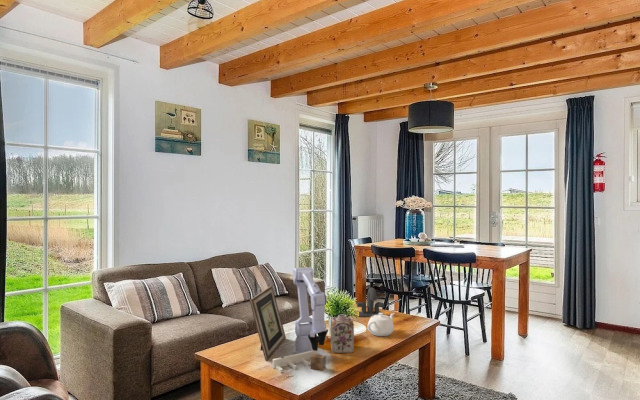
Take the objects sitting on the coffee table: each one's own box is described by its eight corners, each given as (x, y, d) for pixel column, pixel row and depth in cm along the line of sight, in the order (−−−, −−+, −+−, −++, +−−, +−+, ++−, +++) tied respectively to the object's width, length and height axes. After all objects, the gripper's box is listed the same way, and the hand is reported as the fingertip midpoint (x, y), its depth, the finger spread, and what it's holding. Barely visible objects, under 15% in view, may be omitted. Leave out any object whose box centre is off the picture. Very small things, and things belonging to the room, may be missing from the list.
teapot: (378, 341, 238) (379, 319, 238) (357, 334, 250) (358, 313, 249) (404, 331, 256) (404, 311, 256) (383, 325, 267) (384, 306, 267)
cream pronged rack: (272, 367, 202) (272, 357, 202) (315, 357, 214) (315, 348, 214) (279, 373, 195) (279, 363, 195) (323, 362, 208) (323, 353, 208)
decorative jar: (351, 345, 232) (352, 312, 232) (354, 353, 221) (354, 318, 221) (330, 345, 232) (330, 312, 232) (331, 353, 220) (331, 318, 220)
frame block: (310, 369, 200) (310, 356, 200) (313, 365, 204) (314, 353, 204) (322, 371, 198) (322, 358, 198) (325, 368, 202) (325, 355, 202)
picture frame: (267, 360, 210) (267, 300, 210) (248, 359, 212) (248, 299, 212) (286, 338, 242) (286, 286, 242) (269, 337, 244) (269, 285, 244)
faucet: (360, 320, 278) (360, 290, 277) (356, 313, 293) (356, 285, 293) (387, 320, 279) (387, 289, 279) (381, 313, 295) (382, 284, 295)
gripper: (320, 324, 192) (319, 354, 193) (331, 315, 206) (331, 343, 206) (306, 322, 195) (305, 351, 195) (318, 314, 209) (318, 341, 209)
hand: (318, 347), depth 201 cm, fingers open, 7 cm apart
